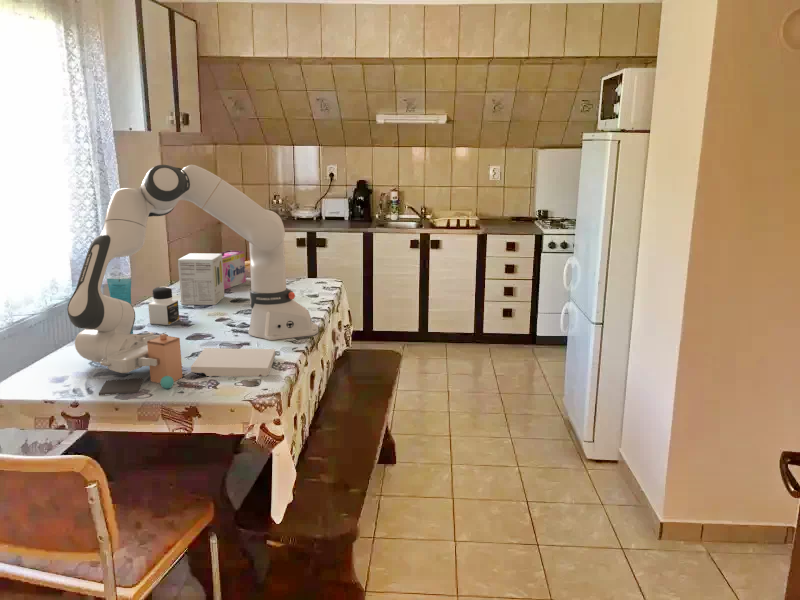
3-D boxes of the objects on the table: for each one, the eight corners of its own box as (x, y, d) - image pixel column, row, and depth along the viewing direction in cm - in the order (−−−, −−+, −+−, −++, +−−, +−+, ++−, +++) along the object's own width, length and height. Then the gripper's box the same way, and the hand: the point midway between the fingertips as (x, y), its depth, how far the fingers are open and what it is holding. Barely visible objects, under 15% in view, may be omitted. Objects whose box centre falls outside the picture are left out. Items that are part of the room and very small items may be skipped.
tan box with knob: (166, 374, 177) (162, 330, 174) (182, 377, 175) (179, 333, 172) (150, 381, 172) (146, 336, 169) (167, 384, 170) (163, 339, 167)
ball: (174, 385, 169) (173, 373, 168) (173, 390, 166) (172, 378, 165) (161, 386, 168) (160, 374, 168) (160, 390, 165) (159, 378, 165)
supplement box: (215, 305, 248) (212, 259, 244) (180, 304, 248) (177, 259, 244) (225, 296, 261) (222, 253, 256) (192, 296, 261) (189, 252, 257)
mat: (143, 379, 173) (143, 377, 173) (137, 392, 164) (137, 390, 164) (106, 382, 171) (106, 380, 171) (98, 395, 162) (98, 393, 162)
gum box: (213, 293, 266) (211, 260, 262) (197, 292, 268) (194, 259, 265) (246, 281, 287) (244, 251, 284) (230, 280, 290) (229, 249, 287)
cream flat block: (275, 360, 191) (205, 359, 190) (275, 349, 190) (204, 348, 189) (267, 379, 176) (191, 378, 175) (267, 368, 175) (190, 366, 174)
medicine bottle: (168, 325, 221) (165, 290, 219) (149, 324, 223) (146, 289, 220) (179, 319, 228) (177, 286, 225) (161, 318, 230) (158, 284, 227)
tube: (139, 335, 210) (133, 276, 205) (134, 340, 205) (129, 280, 201) (114, 336, 209) (108, 277, 204) (109, 341, 204) (103, 280, 200)
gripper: (94, 351, 167) (136, 358, 161) (153, 329, 185) (193, 336, 179) (97, 374, 168) (138, 382, 163) (155, 351, 186) (194, 358, 181)
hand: (167, 358), depth 171 cm, fingers closed on tan box with knob, 6 cm apart
